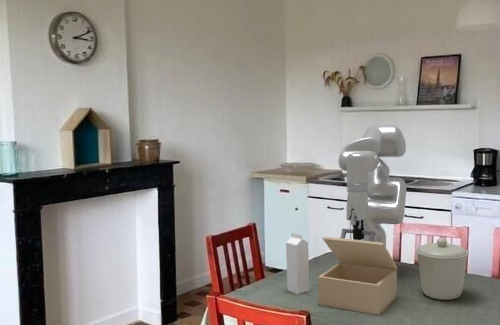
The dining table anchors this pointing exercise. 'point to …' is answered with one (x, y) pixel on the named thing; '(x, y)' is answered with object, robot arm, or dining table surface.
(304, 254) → the milk
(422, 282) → the canister
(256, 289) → the dining table surface
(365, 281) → the carton
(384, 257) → the carton lid
